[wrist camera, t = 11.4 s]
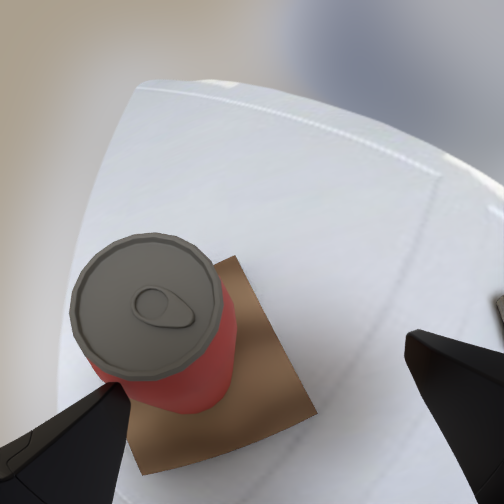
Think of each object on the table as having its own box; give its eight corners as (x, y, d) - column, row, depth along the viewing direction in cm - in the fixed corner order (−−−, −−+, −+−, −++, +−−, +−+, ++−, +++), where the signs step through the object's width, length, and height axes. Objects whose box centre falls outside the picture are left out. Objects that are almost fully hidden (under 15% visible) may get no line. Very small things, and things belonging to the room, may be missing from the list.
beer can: (214, 428, 16) (195, 433, 7) (127, 391, 17) (29, 338, 7) (245, 345, 20) (265, 250, 10) (163, 315, 21) (115, 204, 11)
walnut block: (314, 412, 19) (317, 413, 17) (155, 470, 17) (142, 475, 15) (239, 268, 26) (235, 255, 24) (108, 329, 24) (94, 320, 22)
